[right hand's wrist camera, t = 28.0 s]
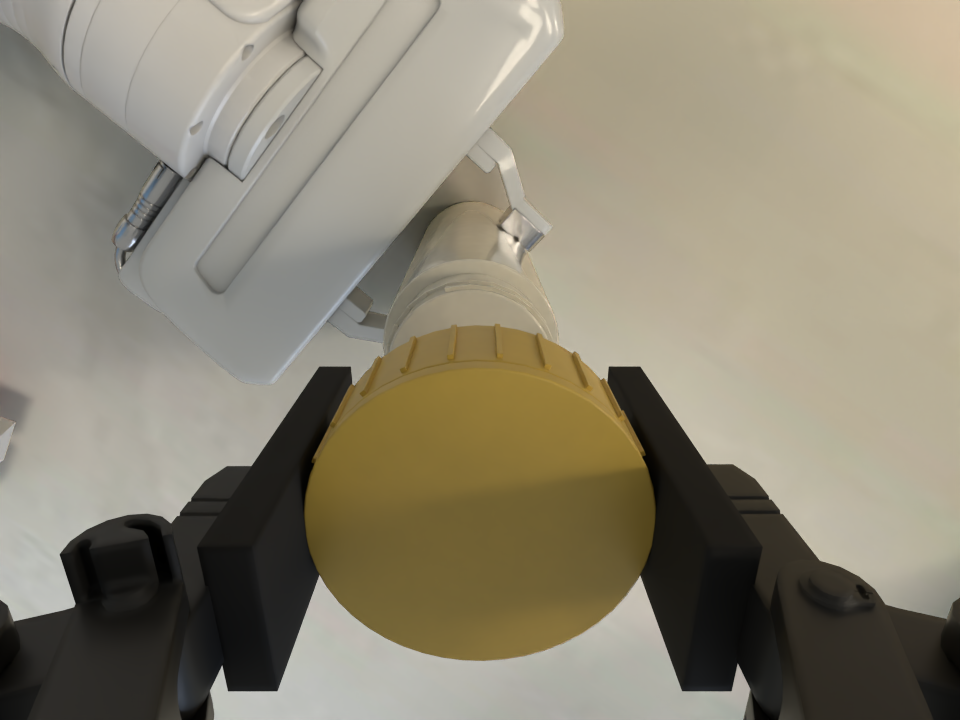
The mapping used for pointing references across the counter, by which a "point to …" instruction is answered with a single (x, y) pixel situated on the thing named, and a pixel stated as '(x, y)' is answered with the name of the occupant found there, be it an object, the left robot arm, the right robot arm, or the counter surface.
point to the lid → (479, 496)
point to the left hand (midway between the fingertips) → (487, 294)
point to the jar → (469, 280)
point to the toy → (5, 435)
